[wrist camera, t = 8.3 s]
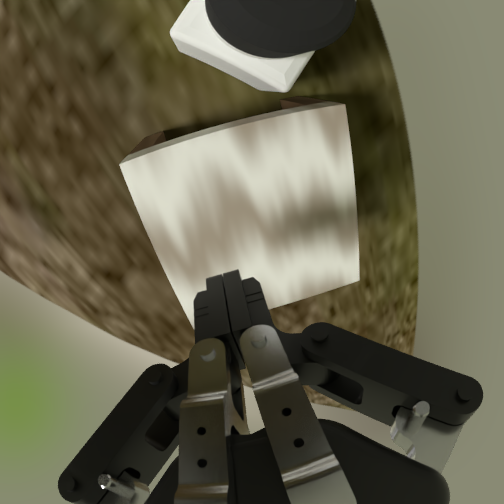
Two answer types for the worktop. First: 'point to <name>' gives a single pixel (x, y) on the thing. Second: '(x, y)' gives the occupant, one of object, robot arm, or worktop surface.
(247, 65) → the medicine bottle
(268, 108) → the worktop surface
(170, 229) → the footstool
